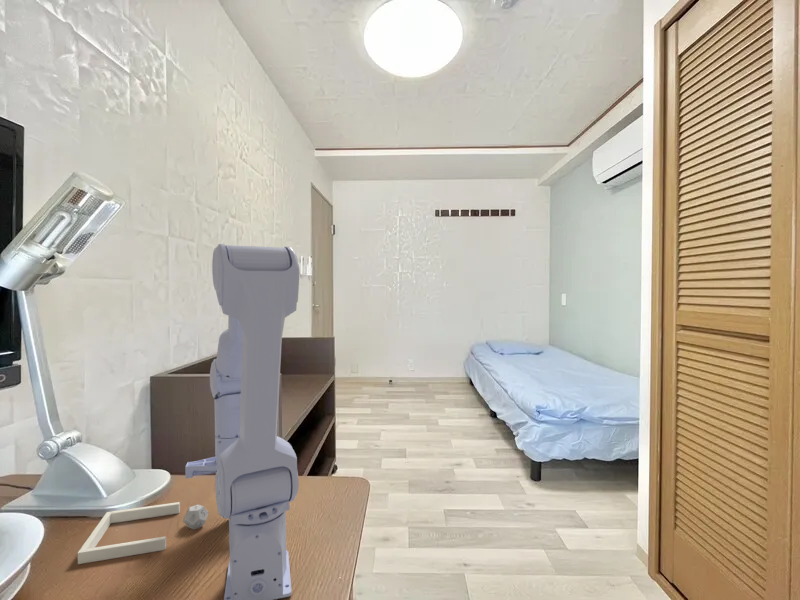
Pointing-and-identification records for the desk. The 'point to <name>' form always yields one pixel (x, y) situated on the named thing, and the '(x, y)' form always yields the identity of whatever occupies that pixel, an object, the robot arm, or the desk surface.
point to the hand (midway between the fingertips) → (235, 513)
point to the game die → (195, 516)
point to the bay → (129, 548)
